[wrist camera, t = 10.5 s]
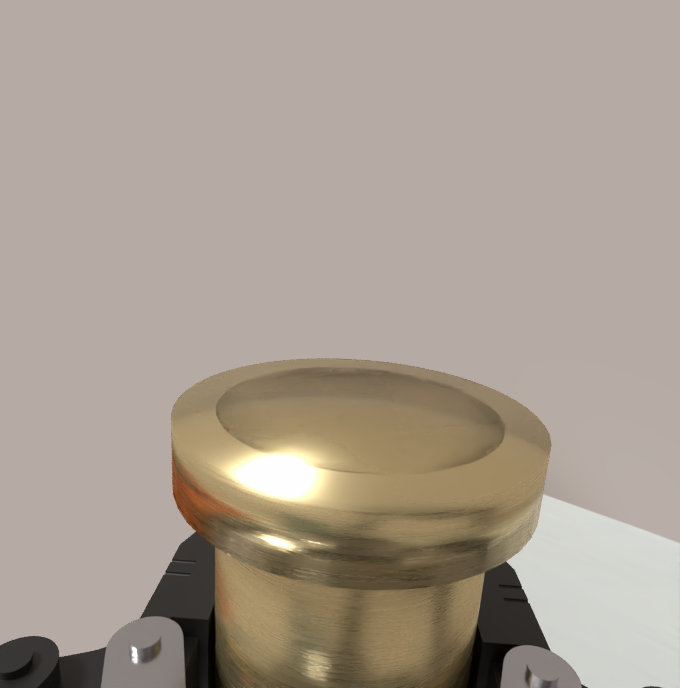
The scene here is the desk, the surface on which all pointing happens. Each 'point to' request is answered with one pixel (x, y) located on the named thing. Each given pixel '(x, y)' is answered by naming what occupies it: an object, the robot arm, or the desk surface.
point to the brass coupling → (353, 516)
